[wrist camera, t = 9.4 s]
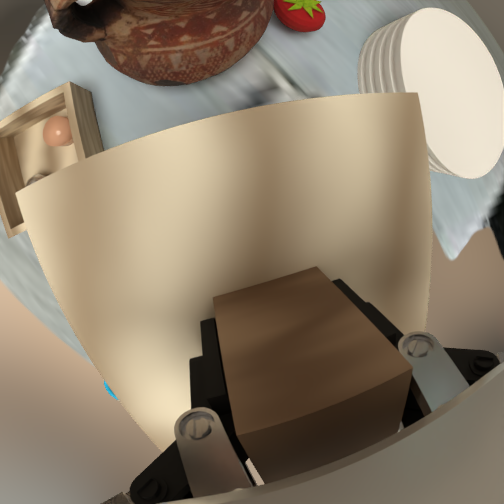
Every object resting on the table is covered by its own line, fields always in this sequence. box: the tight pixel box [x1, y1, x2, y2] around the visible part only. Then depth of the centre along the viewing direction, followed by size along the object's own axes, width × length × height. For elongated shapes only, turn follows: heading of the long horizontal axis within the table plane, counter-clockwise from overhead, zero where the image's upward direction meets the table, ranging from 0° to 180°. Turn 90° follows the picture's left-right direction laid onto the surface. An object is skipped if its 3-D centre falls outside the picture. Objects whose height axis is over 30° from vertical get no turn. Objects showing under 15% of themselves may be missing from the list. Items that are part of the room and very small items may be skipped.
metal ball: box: [26, 174, 46, 187], centre depth 32 cm, size 4×4×4 cm
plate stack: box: [357, 8, 504, 179], centre depth 35 cm, size 28×28×12 cm
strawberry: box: [274, 0, 325, 32], centre depth 28 cm, size 6×8×10 cm
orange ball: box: [43, 116, 74, 146], centre depth 30 cm, size 4×4×4 cm
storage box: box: [0, 81, 104, 238], centre depth 30 cm, size 15×15×8 cm
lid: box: [16, 92, 432, 484], centre depth 9 cm, size 16×16×7 cm
